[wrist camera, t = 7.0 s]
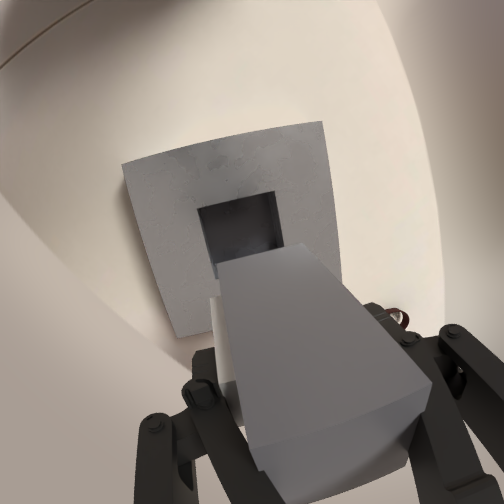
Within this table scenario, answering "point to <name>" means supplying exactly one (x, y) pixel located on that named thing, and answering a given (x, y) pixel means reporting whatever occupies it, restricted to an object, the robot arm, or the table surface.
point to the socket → (230, 210)
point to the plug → (316, 376)
